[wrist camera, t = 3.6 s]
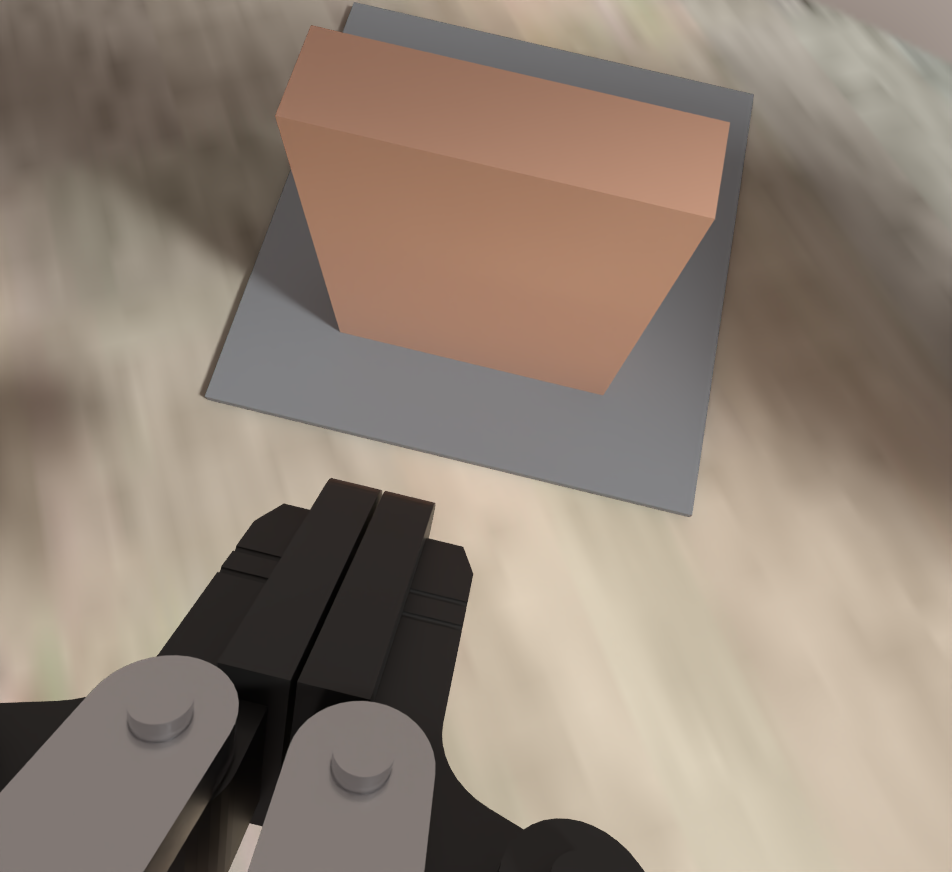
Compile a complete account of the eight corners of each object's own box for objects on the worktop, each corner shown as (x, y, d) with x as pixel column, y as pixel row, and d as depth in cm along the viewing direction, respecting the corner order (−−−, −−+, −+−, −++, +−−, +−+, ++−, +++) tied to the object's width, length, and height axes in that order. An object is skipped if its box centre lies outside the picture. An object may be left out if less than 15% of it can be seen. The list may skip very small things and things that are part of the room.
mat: (750, 100, 28) (753, 94, 28) (688, 516, 23) (691, 515, 23) (355, 8, 28) (354, 1, 28) (207, 399, 23) (204, 396, 23)
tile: (616, 327, 24) (731, 116, 15) (603, 395, 24) (715, 218, 14) (361, 266, 25) (313, 19, 15) (340, 331, 24) (274, 115, 14)
